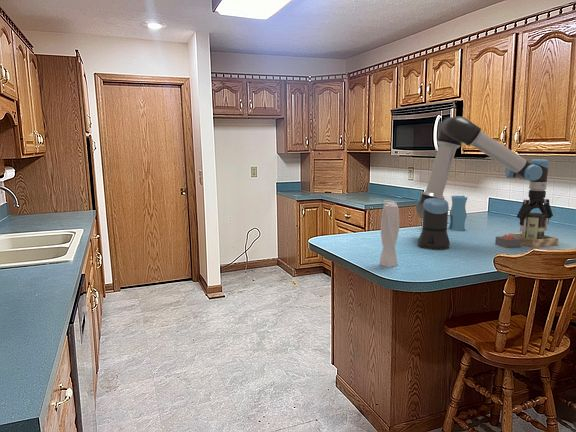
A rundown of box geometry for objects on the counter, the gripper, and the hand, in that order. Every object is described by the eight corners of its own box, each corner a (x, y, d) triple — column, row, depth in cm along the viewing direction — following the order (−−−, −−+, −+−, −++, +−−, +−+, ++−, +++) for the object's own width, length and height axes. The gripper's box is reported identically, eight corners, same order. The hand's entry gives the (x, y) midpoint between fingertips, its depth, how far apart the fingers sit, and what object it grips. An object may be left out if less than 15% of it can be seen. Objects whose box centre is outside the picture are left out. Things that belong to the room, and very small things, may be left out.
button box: (506, 247, 211) (507, 239, 210) (495, 244, 219) (495, 236, 218) (520, 246, 213) (520, 239, 212) (508, 243, 221) (509, 235, 220)
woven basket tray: (531, 247, 212) (532, 240, 212) (507, 240, 228) (508, 233, 227) (557, 245, 216) (558, 238, 216) (532, 238, 232) (533, 232, 231)
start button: (507, 244, 213) (507, 236, 212) (500, 242, 217) (501, 234, 217) (514, 243, 214) (515, 236, 214) (508, 241, 218) (508, 234, 218)
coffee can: (539, 239, 226) (542, 212, 224) (546, 243, 216) (549, 215, 214) (518, 238, 228) (520, 212, 226) (524, 242, 218) (527, 215, 216)
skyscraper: (388, 268, 176) (391, 201, 171) (374, 264, 182) (377, 199, 177) (401, 265, 180) (404, 199, 176) (387, 261, 186) (390, 197, 182)
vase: (465, 231, 252) (467, 197, 249) (451, 230, 253) (453, 197, 250) (462, 228, 260) (464, 195, 256) (448, 228, 261) (450, 195, 257)
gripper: (522, 191, 211) (518, 233, 214) (563, 190, 217) (559, 231, 221) (511, 189, 218) (507, 230, 222) (551, 188, 224) (547, 228, 228)
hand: (533, 231), depth 221 cm, fingers open, 13 cm apart
